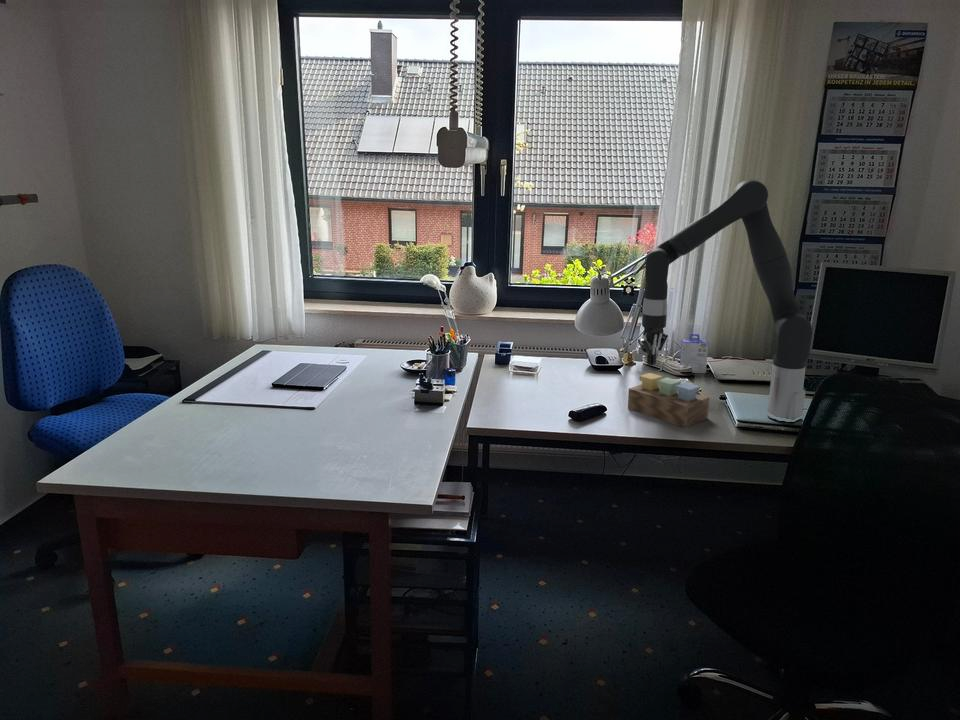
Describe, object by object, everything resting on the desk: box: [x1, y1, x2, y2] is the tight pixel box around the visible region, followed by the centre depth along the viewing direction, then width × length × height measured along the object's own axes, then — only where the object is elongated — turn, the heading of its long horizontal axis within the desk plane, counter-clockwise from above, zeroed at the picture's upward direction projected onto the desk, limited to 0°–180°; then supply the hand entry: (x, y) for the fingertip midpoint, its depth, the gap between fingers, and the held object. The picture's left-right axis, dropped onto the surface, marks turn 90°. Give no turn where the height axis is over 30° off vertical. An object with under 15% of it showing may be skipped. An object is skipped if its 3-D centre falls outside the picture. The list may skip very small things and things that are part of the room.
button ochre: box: [638, 372, 663, 391], centre depth 216 cm, size 5×5×7 cm
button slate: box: [675, 382, 701, 402], centre depth 206 cm, size 5×5×7 cm
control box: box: [627, 384, 710, 428], centre depth 212 cm, size 22×12×7 cm, turn 38°
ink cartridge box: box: [679, 333, 709, 374], centre depth 255 cm, size 10×6×14 cm, turn 78°
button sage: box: [657, 377, 682, 396], centre depth 211 cm, size 5×5×7 cm
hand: (651, 364), depth 214 cm, fingers closed
